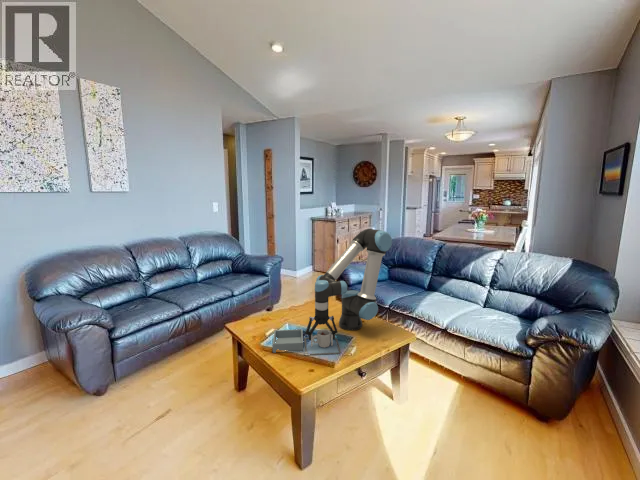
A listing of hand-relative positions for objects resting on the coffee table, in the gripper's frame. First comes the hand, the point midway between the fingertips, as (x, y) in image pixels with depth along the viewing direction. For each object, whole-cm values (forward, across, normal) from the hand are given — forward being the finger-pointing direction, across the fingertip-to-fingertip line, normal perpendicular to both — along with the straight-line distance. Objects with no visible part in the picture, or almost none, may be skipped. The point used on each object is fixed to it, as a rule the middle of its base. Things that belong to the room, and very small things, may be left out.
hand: (321, 345), depth 176 cm
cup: (+1, 0, 0) cm, 1 cm away
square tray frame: (+1, 0, 0) cm, 1 cm away
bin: (+1, +19, -3) cm, 19 cm away
